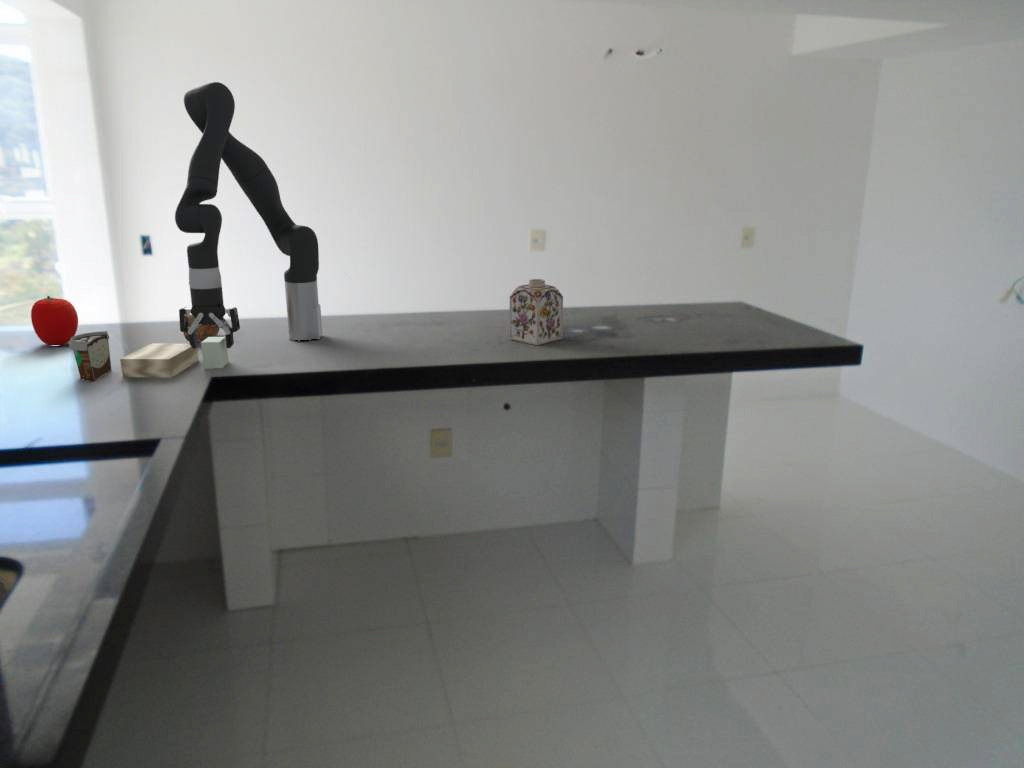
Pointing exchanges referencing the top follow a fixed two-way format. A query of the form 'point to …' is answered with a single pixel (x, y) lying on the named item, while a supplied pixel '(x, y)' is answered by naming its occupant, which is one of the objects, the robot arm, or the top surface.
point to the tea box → (214, 352)
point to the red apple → (54, 320)
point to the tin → (202, 330)
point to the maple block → (159, 360)
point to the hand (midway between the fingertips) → (212, 347)
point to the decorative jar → (536, 313)
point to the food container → (92, 354)
